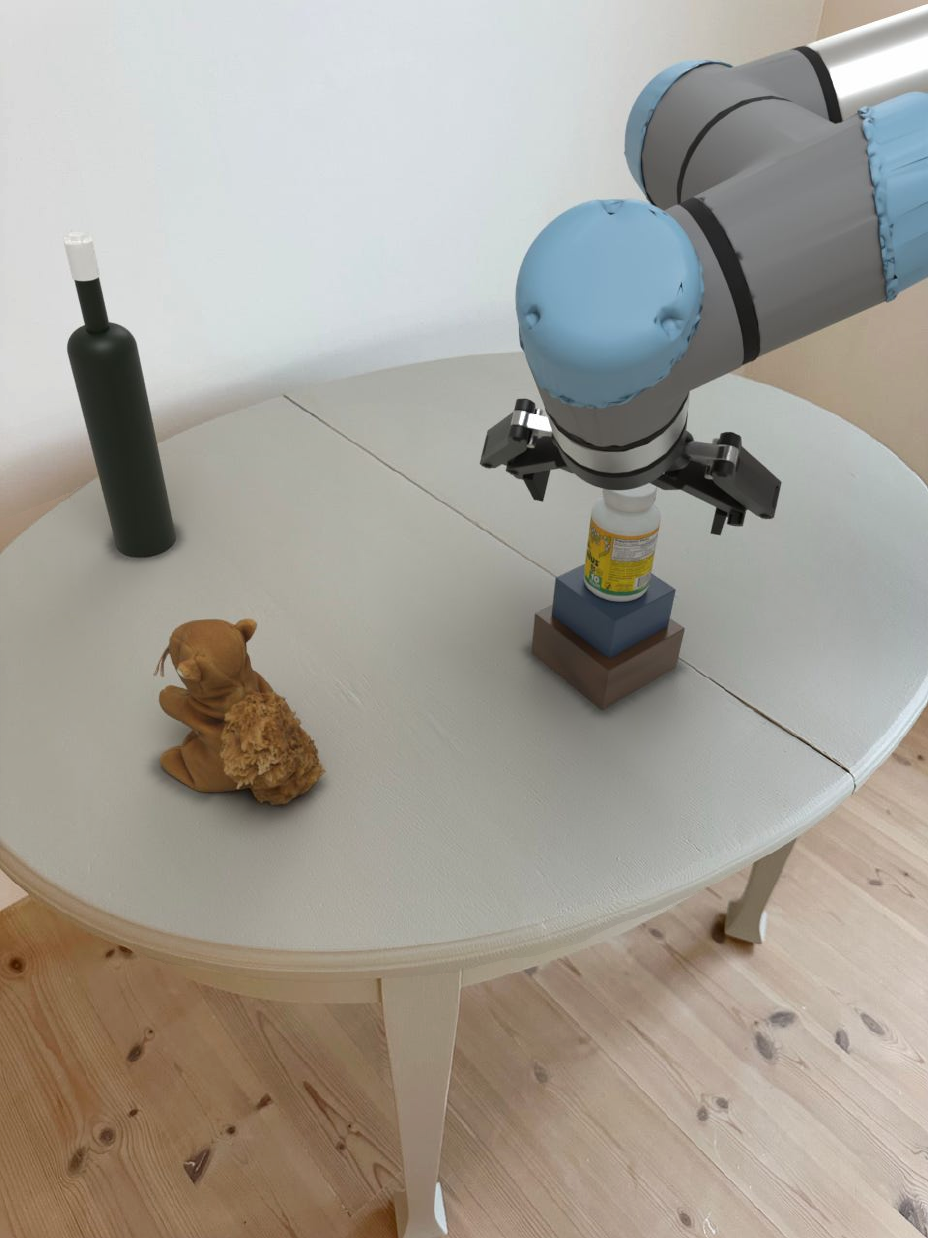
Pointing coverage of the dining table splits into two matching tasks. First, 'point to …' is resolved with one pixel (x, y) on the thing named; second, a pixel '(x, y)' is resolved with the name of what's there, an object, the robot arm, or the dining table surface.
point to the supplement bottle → (622, 543)
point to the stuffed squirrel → (232, 718)
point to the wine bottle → (117, 415)
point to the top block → (611, 613)
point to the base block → (604, 659)
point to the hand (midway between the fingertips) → (629, 500)
